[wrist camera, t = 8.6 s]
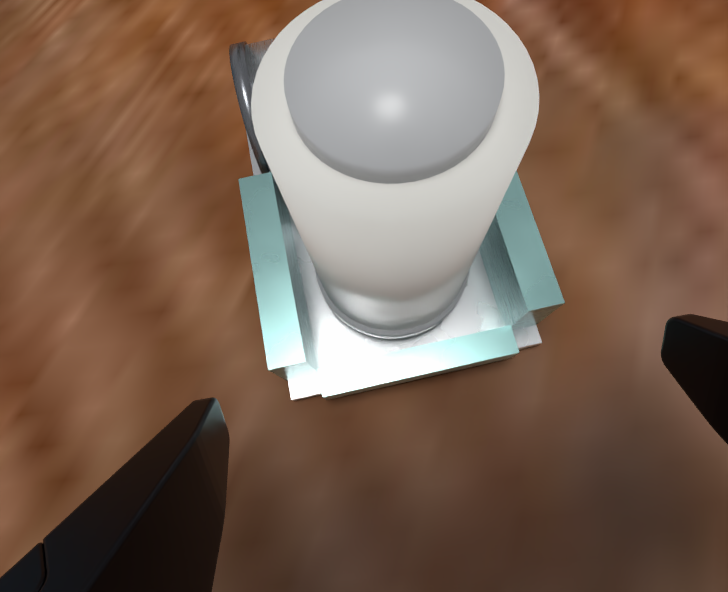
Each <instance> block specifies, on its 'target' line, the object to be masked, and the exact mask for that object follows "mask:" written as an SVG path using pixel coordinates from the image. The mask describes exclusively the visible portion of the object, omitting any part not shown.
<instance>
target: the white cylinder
mask: <svg viewBox="0 0 728 592" xmlns="http://www.w3.org/2000/svg"><path fill="white" fill-rule="evenodd" d="M538 111H539V89H538V80H537V76H536V73H535V69H534V65H533V63H532V61H531V58H530V56H529V54H528V52H527V50H526V48H525V47H524V45H523V43H522V42H521V40H520V39H519V37H518V36H517V35H516V34H515V32H514V31H513V30H512V29H511V28H510V27H509V26H508V24H506V23H505V22H504V21H503V20H502V19H501V18H500V17H499V16H497V15H496V14H495V13H494V12H492V11H491V10H489V9H488V8H486V7H485V6H484V5H482V4H480V3H478V2H476V1H475V0H322V1H320V2H318V3H317V4H315V5H313V6H312V7H310V8H309V9H307V10H305V11H304V12H303V13H301V14H300V15H299V16H298V17H296V18H295V19H294V20H292V21H291V22H290V23H289V24H288V25H287V26H286V27H285V28H284V29H283V30H282V31H281V32H280V33H279V35H278V36H277V37H276V38H275V40H274V41H273V42H272V44H271V45H270V46H269V48H268V50H267V52H266V53H265V55H264V57H263V58H262V61H261V63H260V65H259V68H258V70H257V73H256V76H255V80H254V84H253V88H252V98H251V112H252V121H253V126H254V131H255V135H256V137H257V140H258V143H259V145H260V148H261V150H262V152H263V155H264V157H265V159H266V161H267V163H268V166H269V168H270V170H271V172H272V174H273V177H274V179H275V181H276V183H277V185H278V188H279V190H280V192H281V194H282V197H283V199H284V201H285V203H286V205H287V208H288V210H289V212H290V214H291V216H292V219H293V221H294V223H295V225H296V228H297V230H298V232H299V234H300V236H301V239H302V241H303V243H304V245H305V247H306V250H307V252H308V254H309V256H310V258H311V261H312V263H313V265H314V267H315V274H316V278H317V283H318V285H319V288H320V290H321V293H322V295H323V297H324V299H325V300H326V302H327V304H328V306H329V307H330V308H331V310H332V311H333V312H334V313H335V314H336V315H337V316H338V318H339V319H340V320H342V321H343V322H344V323H346V324H347V325H348V326H350V327H351V328H353V329H355V330H357V331H359V332H361V333H364V334H366V335H370V336H373V337H378V338H385V339H399V338H407V337H411V336H415V335H418V334H420V333H423V332H425V331H427V330H429V329H431V328H433V327H434V326H436V325H437V324H439V323H440V322H441V321H443V320H444V319H445V318H446V317H447V316H448V315H449V314H450V313H451V311H452V310H453V309H454V307H455V306H456V305H457V303H458V301H459V299H460V298H461V296H462V294H463V292H464V289H465V287H466V284H467V281H468V277H469V273H470V267H471V265H472V263H473V261H474V259H475V257H476V254H477V252H478V250H479V248H480V246H481V244H482V242H483V240H484V238H485V235H486V233H487V231H488V229H489V227H490V225H491V223H492V221H493V218H494V216H495V214H496V212H497V210H498V208H499V206H500V204H501V202H502V199H503V197H504V195H505V193H506V191H507V189H508V187H509V185H510V183H511V180H512V178H513V176H514V174H515V172H516V170H517V168H518V166H519V163H520V161H521V159H522V157H523V155H524V153H525V151H526V149H527V147H528V144H529V142H530V140H531V137H532V134H533V132H534V129H535V126H536V121H537V116H538Z"/></svg>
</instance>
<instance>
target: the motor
mask: <svg viewBox="0 0 728 592" xmlns="http://www.w3.org/2000/svg"><path fill="white" fill-rule="evenodd" d="M274 40H275V38H274V39H269V40H265V41H260V42H256V43H251V44H247V43H246V42H240V43H236V44H231V45H230V49H229V54H230V63H231V70H232V75H233V80H234V85H235V90H236V94H237V98H238V102H239V106H240V110H241V114H242V117H243V121H244V124H245V128H246V133H247V138H248V144H249V150H250V156H251V162H252V168H253V174H254V176H250V177H245V178H241V179H239V185H240V192H241V198H242V205H243V211H244V217H245V224H246V230H247V237H248V243H249V250H250V256H251V262H252V269H253V275H254V282H255V288H256V294H257V301H258V307H259V314H260V320H261V327H262V333H263V339H264V346H265V352H266V359H267V365H268V370H269V371H271V372H273V373H275V374H276V375H278V376H280V377H282V378H283V379H285V380H287V381H288V383H289V389H290V395H291V400H293V401H296V400H301V399H305V398H309V397H314V396H318V395H322V397H323V398H325V399H326V400H329V399H333V398H338V397H342V396H347V395H351V394H355V393H360V392H364V391H368V390H373V389H377V388H382V387H386V386H390V385H395V384H399V383H404V382H408V381H412V380H417V379H421V378H425V377H430V376H434V375H439V374H443V373H447V372H452V371H456V370H461V369H465V368H469V367H474V366H478V365H483V364H487V363H491V362H496V361H500V360H504V359H509V358H512V357H513V356H515V355H516V354H518V353H519V350H520V349H524V348H529V347H533V346H537V345H539V344H541V343H542V341H541V338H540V335H539V332H538V329H537V326H536V324H538V323H539V322H540V321H542V320H543V319H544V318H546V317H547V316H548V315H550V314H551V313H552V312H553V311H555V310H556V309H557V308H559V307H560V306H561V305H563V304H564V303H565V302H564V299H563V296H562V294H561V291H560V288H559V285H558V283H557V280H556V277H555V275H554V272H553V269H552V266H551V264H550V261H549V258H548V255H547V253H546V250H545V247H544V244H543V242H542V239H541V236H540V234H539V231H538V228H537V225H536V223H535V220H534V217H533V214H532V212H531V209H530V206H529V204H528V201H527V198H526V195H525V193H524V190H523V187H522V184H521V182H520V179H519V176H518V173H517V171H516V172H515V174H514V176H513V178H512V180H511V183H510V185H509V187H508V189H507V191H506V193H505V195H504V197H503V199H502V202H501V204H500V206H499V208H498V210H497V212H496V214H495V216H494V218H493V221H492V223H491V225H490V227H489V229H488V231H487V233H486V235H485V238H484V240H483V242H482V244H481V246H480V248H479V250H478V252H477V254H476V257H475V259H474V261H473V263H472V265H471V267H470V273H469V277H468V281H467V284H466V287H465V289H464V292H463V294H462V296H461V298H460V299H459V301H458V303H457V305H456V306H455V307H454V309H453V310H452V311H451V313H450V314H449V315H448V316H447V317H446V318H445V319H444V320H443V321H441V322H440V323H439V324H437V325H436V326H434V327H433V328H431V329H429V330H427V331H425V332H423V333H420V334H418V335H415V336H411V337H407V338H399V339H385V338H378V337H373V336H370V335H366V334H364V333H361V332H359V331H357V330H355V329H353V328H351V327H350V326H348V325H347V324H346V323H344V322H343V321H342V320H340V319H339V318H338V316H337V315H336V314H335V313H334V312H333V311H332V310H331V308H330V307H329V306H328V304H327V302H326V300H325V299H324V297H323V295H322V293H321V290H320V288H319V285H318V283H317V278H316V274H315V267H314V265H313V263H312V261H311V258H310V256H309V254H308V252H307V250H306V247H305V245H304V243H303V241H302V239H301V236H300V234H299V232H298V230H297V228H296V225H295V223H294V221H293V219H292V216H291V214H290V212H289V210H288V208H287V205H286V203H285V201H284V199H283V197H282V194H281V192H280V190H279V188H278V185H277V183H276V181H275V179H274V177H273V174H272V172H271V170H270V168H269V166H268V163H267V161H266V159H265V157H264V155H263V152H262V150H261V148H260V145H259V143H258V140H257V137H256V135H255V131H254V126H253V121H252V112H251V98H252V88H253V84H254V80H255V76H256V73H257V70H258V68H259V65H260V63H261V61H262V58H263V57H264V55H265V53H266V52H267V50H268V48H269V46H270V45H271V44H272V42H273V41H274Z"/></svg>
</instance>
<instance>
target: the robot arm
mask: <svg viewBox="0 0 728 592" xmlns="http://www.w3.org/2000/svg"><path fill="white" fill-rule="evenodd" d="M661 358H662V361H663V363H664V365H665V366H666V368H667V369H668V370H669V372H670V373H671V374H672V376H673V377H674V378H675V380H676V381H677V382H678V384H679V385H680V386H681V387H682V389H683V390H684V391H685V393H686V394H687V395H688V397H689V398H690V399H691V401H692V402H693V403H694V405H695V406H696V407H697V409H698V410H699V411H700V412H701V414H702V415H703V416H704V418H705V419H706V420H707V421H708V423H709V424H710V425H711V426H712V427H713V429H714V430H715V431H716V432H717V433H718V434H719V435H720V437H721V438H722V439H723V440H724V441H725V442H726V443H727V444H728V322H725V321H721V320H716V319H712V318H707V317H703V316H698V315H693V314H687V315H682V316H676V317H672V318H670V319H669V320H668V321H667V323H666V326H665V331H664V337H663V343H662V349H661ZM228 458H229V433H228V429H227V426H226V423H225V420H224V417H223V414H222V410H221V407H220V404H219V402H218V400H217V399H216V398H206V399H201V400H195V401H193V402H192V403H191V404H190V405H189V406H187V407H186V408H185V409H184V410H183V411H182V412H181V413H180V414H179V415H178V416H177V417H175V418H174V419H173V420H172V421H171V422H170V423H169V424H168V425H167V426H166V427H165V428H164V429H162V430H161V431H160V432H159V433H158V434H157V435H156V436H155V437H154V438H153V439H152V440H150V441H149V442H148V443H147V444H146V445H145V446H144V447H143V448H142V449H141V450H140V451H138V452H137V453H136V454H135V455H134V456H133V457H132V458H131V459H130V460H129V461H128V462H126V463H125V464H124V465H123V466H122V467H121V468H120V469H119V470H118V471H117V472H116V473H114V474H113V475H112V476H111V477H110V478H109V479H108V480H107V481H106V482H105V483H104V484H103V485H101V486H100V487H99V488H98V489H97V490H96V491H95V492H94V493H93V494H92V495H91V496H89V497H88V498H87V499H86V500H85V501H84V502H83V503H82V504H81V505H80V506H79V507H77V508H76V509H75V510H74V511H73V512H72V513H71V514H70V515H69V516H68V517H67V518H65V519H64V520H63V521H62V522H61V523H60V524H59V525H58V526H57V527H56V528H55V529H53V530H52V531H51V532H50V533H49V534H48V535H47V536H46V537H45V538H44V539H43V543H38V544H37V545H36V546H35V547H34V548H33V549H32V550H30V551H29V552H28V553H27V554H26V555H25V556H24V557H23V558H22V559H21V560H20V561H18V562H17V563H16V564H15V565H14V566H13V567H12V568H11V569H10V570H8V571H7V572H6V573H5V574H4V575H3V576H2V577H1V578H0V592H212V586H213V581H214V575H215V570H216V564H217V559H218V553H219V547H220V542H221V536H222V531H223V524H224V518H225V507H226V491H227V475H228Z"/></svg>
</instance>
